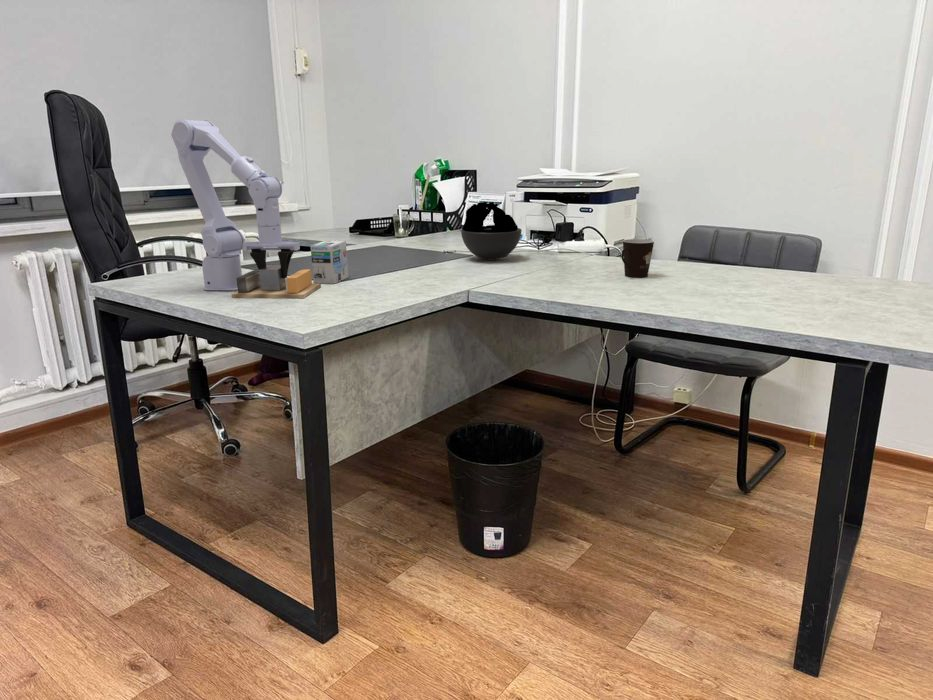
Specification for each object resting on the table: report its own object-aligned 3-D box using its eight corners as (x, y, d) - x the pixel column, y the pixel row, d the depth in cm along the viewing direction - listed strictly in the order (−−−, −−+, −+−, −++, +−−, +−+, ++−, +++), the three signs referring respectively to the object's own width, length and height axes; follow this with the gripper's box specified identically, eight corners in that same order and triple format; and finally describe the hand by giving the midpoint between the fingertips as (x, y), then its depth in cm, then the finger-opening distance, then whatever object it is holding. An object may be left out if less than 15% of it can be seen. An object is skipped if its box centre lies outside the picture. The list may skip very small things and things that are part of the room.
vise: (231, 297, 168) (229, 278, 166) (253, 286, 181) (251, 268, 180) (303, 298, 166) (302, 278, 165) (320, 287, 179) (319, 269, 178)
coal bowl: (475, 253, 233) (474, 199, 227) (529, 256, 225) (529, 200, 220) (451, 262, 215) (450, 204, 210) (509, 266, 208) (509, 205, 202)
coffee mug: (640, 272, 194) (643, 238, 191) (657, 277, 186) (660, 242, 184) (606, 275, 191) (607, 240, 188) (621, 280, 183) (623, 244, 180)
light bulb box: (335, 284, 183) (332, 245, 180) (312, 283, 185) (309, 245, 181) (349, 277, 193) (346, 240, 190) (327, 276, 195) (324, 240, 191)
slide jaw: (285, 292, 167) (284, 278, 166) (301, 283, 179) (300, 269, 177) (297, 292, 167) (295, 278, 166) (312, 283, 178) (310, 269, 177)
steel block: (261, 290, 170) (258, 269, 169) (269, 285, 176) (267, 265, 174) (279, 290, 170) (277, 269, 168) (288, 285, 175) (285, 265, 174)
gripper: (235, 227, 165) (241, 280, 169) (291, 227, 164) (296, 280, 168) (246, 224, 172) (252, 275, 176) (300, 223, 171) (304, 275, 175)
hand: (274, 277), depth 173 cm, fingers closed on steel block, 5 cm apart
